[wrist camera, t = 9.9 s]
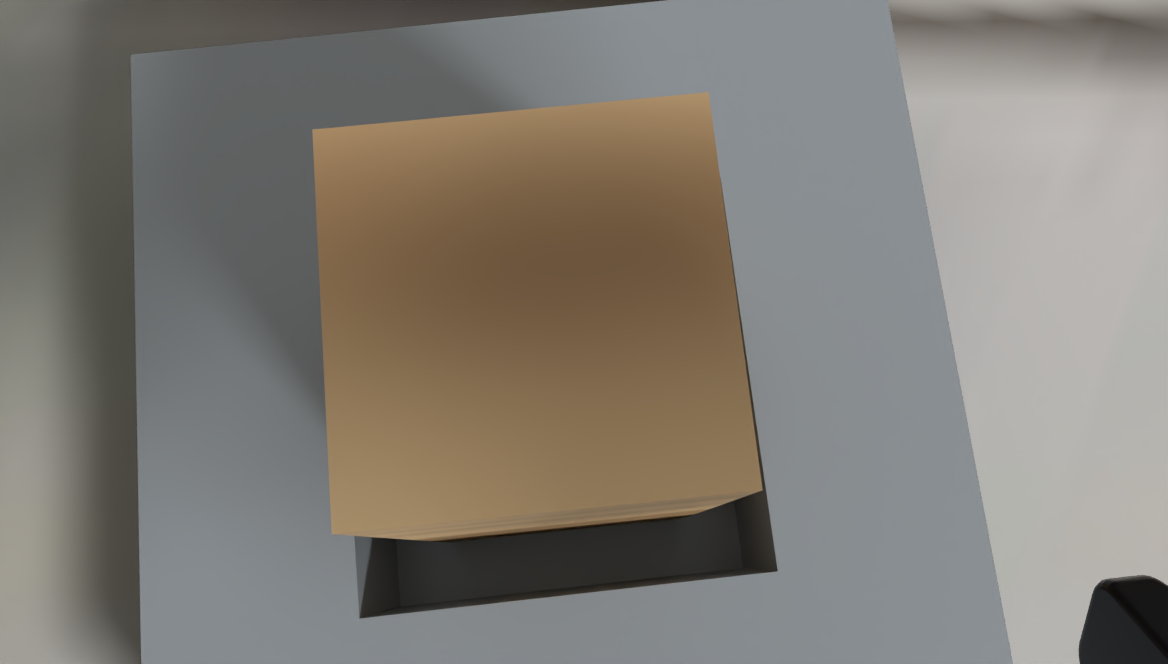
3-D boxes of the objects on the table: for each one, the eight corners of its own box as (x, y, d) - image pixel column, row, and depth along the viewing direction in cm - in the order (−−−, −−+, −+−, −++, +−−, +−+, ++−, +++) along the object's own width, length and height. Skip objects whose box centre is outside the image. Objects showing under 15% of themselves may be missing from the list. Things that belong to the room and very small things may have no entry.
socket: (941, 729, 19) (1034, 776, 15) (237, 811, 19) (145, 880, 15) (829, 82, 22) (883, -23, 18) (213, 145, 21) (130, 54, 17)
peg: (682, 518, 19) (762, 489, 10) (448, 542, 19) (332, 534, 10) (655, 292, 20) (708, 91, 11) (432, 315, 20) (312, 129, 11)
